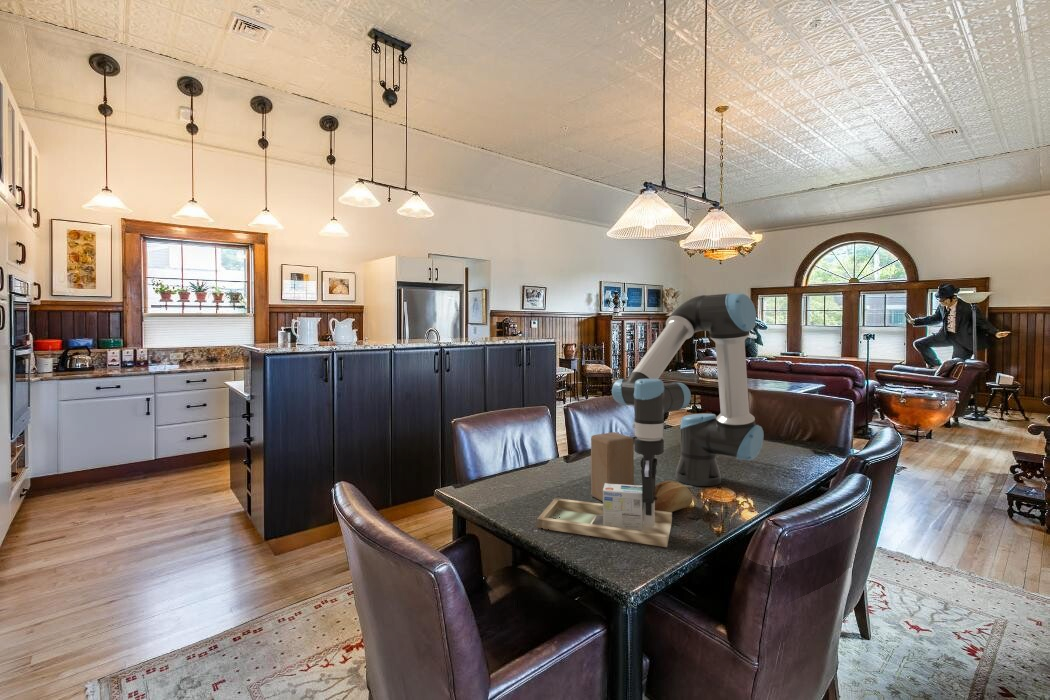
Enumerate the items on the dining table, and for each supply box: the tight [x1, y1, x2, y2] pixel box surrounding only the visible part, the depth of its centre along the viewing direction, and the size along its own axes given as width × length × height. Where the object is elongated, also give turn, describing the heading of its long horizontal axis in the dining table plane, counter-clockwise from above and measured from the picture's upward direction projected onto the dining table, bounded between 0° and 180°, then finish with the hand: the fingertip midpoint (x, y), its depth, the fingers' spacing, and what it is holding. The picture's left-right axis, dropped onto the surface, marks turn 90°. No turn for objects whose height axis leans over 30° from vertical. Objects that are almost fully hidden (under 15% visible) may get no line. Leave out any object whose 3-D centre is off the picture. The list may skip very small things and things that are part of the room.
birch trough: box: [536, 497, 673, 548], centre depth 131 cm, size 34×17×3 cm, turn 69°
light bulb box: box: [602, 483, 644, 531], centre depth 129 cm, size 11×7×11 cm, turn 76°
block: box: [590, 431, 635, 502], centre depth 150 cm, size 10×10×20 cm
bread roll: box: [654, 480, 693, 513], centre depth 141 cm, size 10×15×8 cm, turn 130°
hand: (649, 525), depth 127 cm, fingers closed
